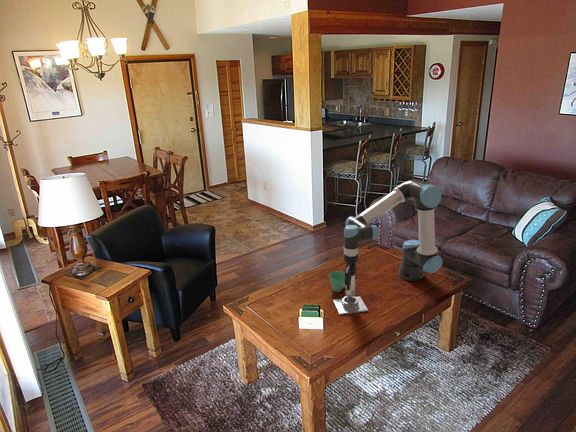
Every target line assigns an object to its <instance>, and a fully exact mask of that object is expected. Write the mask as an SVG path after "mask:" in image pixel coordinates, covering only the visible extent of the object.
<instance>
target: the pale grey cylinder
mask: <svg viewBox="0 0 576 432" xmlns="http://www.w3.org/2000/svg"><path fill="white" fill-rule="evenodd" d="M355 277H356V276H355V274H352V276H351V295H347V294H346V293H345V296H347V297H353V296H354V297H355V295H356V290H355V289H356V279H355Z"/></svg>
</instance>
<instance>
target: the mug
mask: <svg viewBox="0 0 576 432" xmlns="http://www.w3.org/2000/svg"><path fill="white" fill-rule="evenodd" d="M328 277H329V281H330V285H331V289H332V291H334V292H335V293H340V292H341V291H342V290H343V288H344V287H345V288H346V285H345V284H344V283H345V272H343V271H339V270H337V271H336V270H334V271H331V272H330V273H329V275H328Z"/></svg>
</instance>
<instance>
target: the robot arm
mask: <svg viewBox="0 0 576 432" xmlns="http://www.w3.org/2000/svg"><path fill="white" fill-rule="evenodd" d="M409 200H411V201H413V204H414V208H415V209H414V210H416V211H417V222H418V223H417V225H418V228H417V229H418V239H409V240H405V241H403V244H402V253H401V254H402V255H401V264H400V266H399V268H398V272H397V275H398V277H399V278H401V279H402V280H405V281H408V282H417V281H420V280H422V279H423V278H424V272H426V273H427V274H433V273H436V272H438V270H439V269H440V268H441V266H442V265H443V258H442V257H441V255H439V250H438V247H437V246H436V236H435V235H436V233H435V231H436V230H435V229H436V228H435V209H437V207H438V205H440V202H441V201H442V192H441V190H440V188H439V187H438V186H435V185H434V184H432V183H427V182H425V181H422V180H420V179H417V178H416V179H410V180H406V181H403V182H402V183H399V184H398V185H397V186H396V187H394V188H393V189H392V191H391V192H389V193H388V194H386V195H385V196H384V197H382V198H381V199H380V200H378V201H377V202H376V203H374V204H373V205H371V206H370V207H368V208H366V209H365V210H364V211H361V213H359V214H357V215H355V216H349V217H347V218H346V220H345V224H344V225H345V227H344V229H343V247H342V249H343V261H344V262H345V263H346V264H345V268H344V273H345V282H344V284H345V285H346V286H345V295H346V294H347V295H351V276H352V274H355V280H357V262H358V261H359V243H365V242H369V241H374V240H376V239H378V238H379V237H380V229H379V227H378V226H377V225H375V224H371V223H373V222H374V221H376V220H377V219H378V218H380V217H381V216H383V215H384V214H385V213H387V212H388V211H390V210H392V209H393V208H395V207H396V206H398V205H399V204H400V203H405V202H406V201H409ZM370 224H371V225H370Z"/></svg>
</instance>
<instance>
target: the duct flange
mask: <svg viewBox="0 0 576 432" xmlns="http://www.w3.org/2000/svg"><path fill="white" fill-rule="evenodd" d="M332 301H333V302H332V303H333V304H334V306H335V308H336V310H337V314H338V315H339V316H344V314H345V315H351V314H352V313H353V314H360V312H361V313H366V312H367V311H368V312H369V309H368V308H367V306H366V303H364V300H363V299H362V298H361V296H360V295H358V296H355V295H354V296H353V297H347V296H346V295H345V296H344V297H342V298H334V299H332ZM368 312H367V313H368Z"/></svg>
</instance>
